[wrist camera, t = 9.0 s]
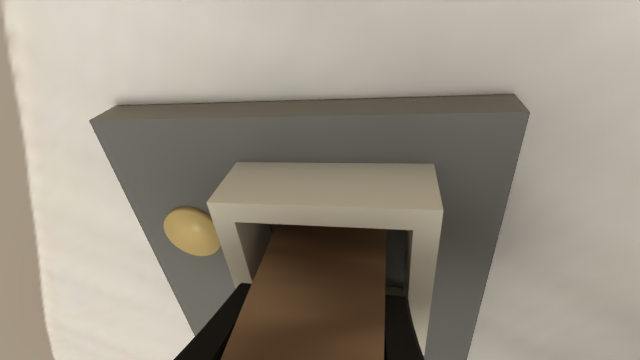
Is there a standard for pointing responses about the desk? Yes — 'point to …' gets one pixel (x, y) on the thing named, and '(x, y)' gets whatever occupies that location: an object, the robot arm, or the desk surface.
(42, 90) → the desk surface
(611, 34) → the desk surface
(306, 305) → the walnut peg
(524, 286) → the desk surface
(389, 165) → the socket board
